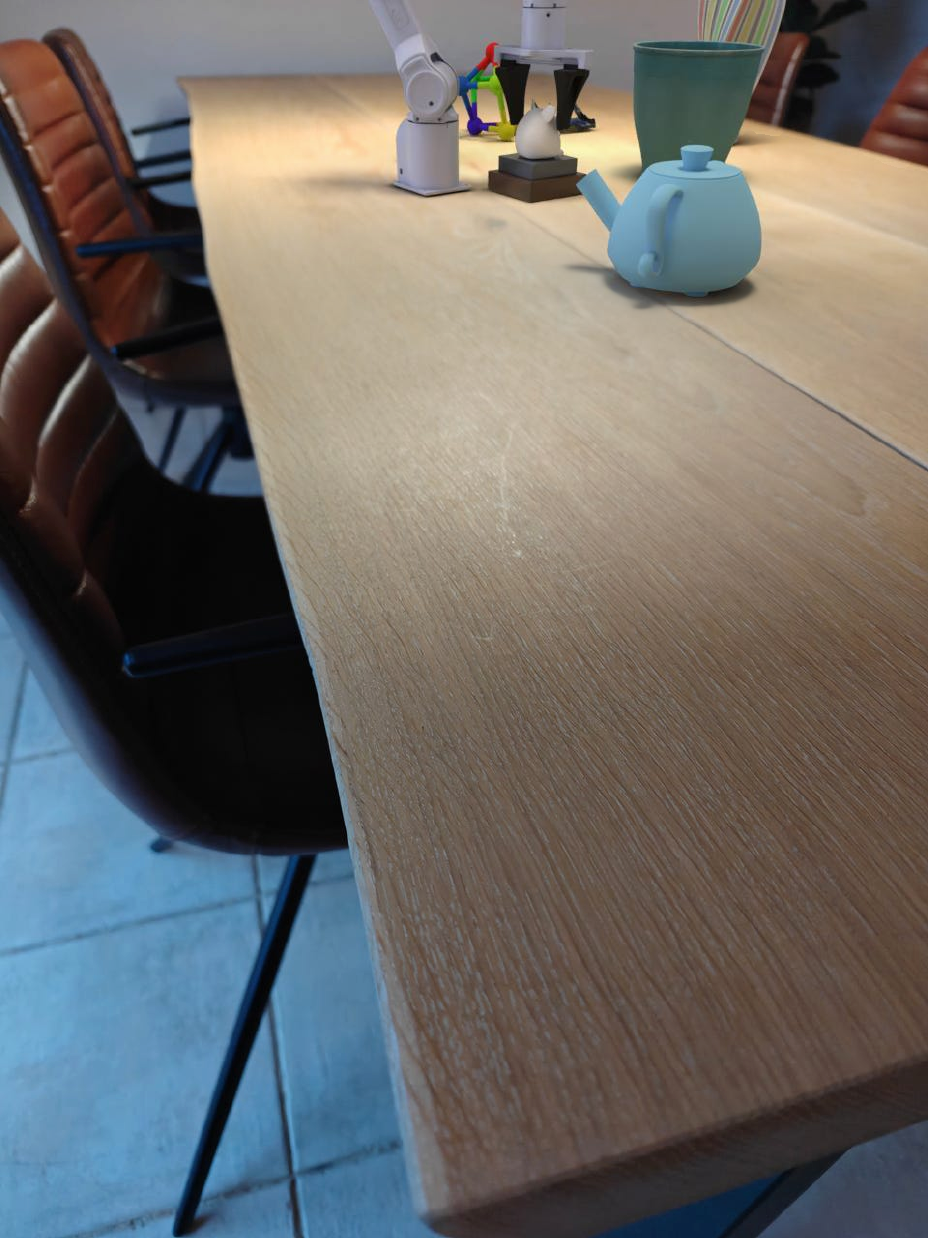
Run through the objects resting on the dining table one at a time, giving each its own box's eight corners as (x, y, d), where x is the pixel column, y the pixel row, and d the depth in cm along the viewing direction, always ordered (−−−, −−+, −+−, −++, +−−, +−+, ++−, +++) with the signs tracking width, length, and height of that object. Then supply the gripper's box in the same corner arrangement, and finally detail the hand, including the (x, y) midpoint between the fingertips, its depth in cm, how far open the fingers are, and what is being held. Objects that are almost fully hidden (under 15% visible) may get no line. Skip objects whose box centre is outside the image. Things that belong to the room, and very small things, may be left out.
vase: (768, 140, 158) (807, -72, 140) (744, 152, 149) (782, -73, 131) (697, 133, 164) (725, -70, 146) (669, 144, 155) (696, -71, 137)
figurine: (570, 158, 121) (573, 103, 117) (527, 162, 119) (528, 106, 116) (548, 149, 127) (550, 97, 123) (507, 152, 126) (507, 99, 122)
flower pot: (666, 160, 144) (681, 36, 133) (764, 176, 133) (789, 43, 123) (597, 177, 134) (607, 44, 123) (697, 195, 123) (718, 52, 113)
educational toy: (458, 136, 169) (458, 42, 161) (525, 137, 168) (529, 43, 160) (448, 141, 156) (448, 40, 148) (521, 142, 155) (525, 40, 147)
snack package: (585, 123, 175) (527, 122, 174) (590, 87, 170) (531, 86, 169) (597, 145, 167) (537, 144, 165) (603, 108, 162) (541, 107, 161)
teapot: (717, 321, 82) (743, 172, 75) (530, 287, 91) (536, 150, 83) (778, 268, 95) (805, 138, 88) (610, 243, 104) (621, 122, 96)
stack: (487, 189, 127) (488, 154, 124) (542, 181, 132) (543, 147, 129) (530, 202, 120) (531, 166, 118) (585, 193, 125) (588, 158, 122)
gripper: (480, 6, 114) (479, 125, 122) (575, 10, 107) (568, 136, 115) (512, 4, 118) (509, 119, 126) (605, 7, 111) (595, 128, 119)
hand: (539, 126), depth 121 cm, fingers open, 7 cm apart
